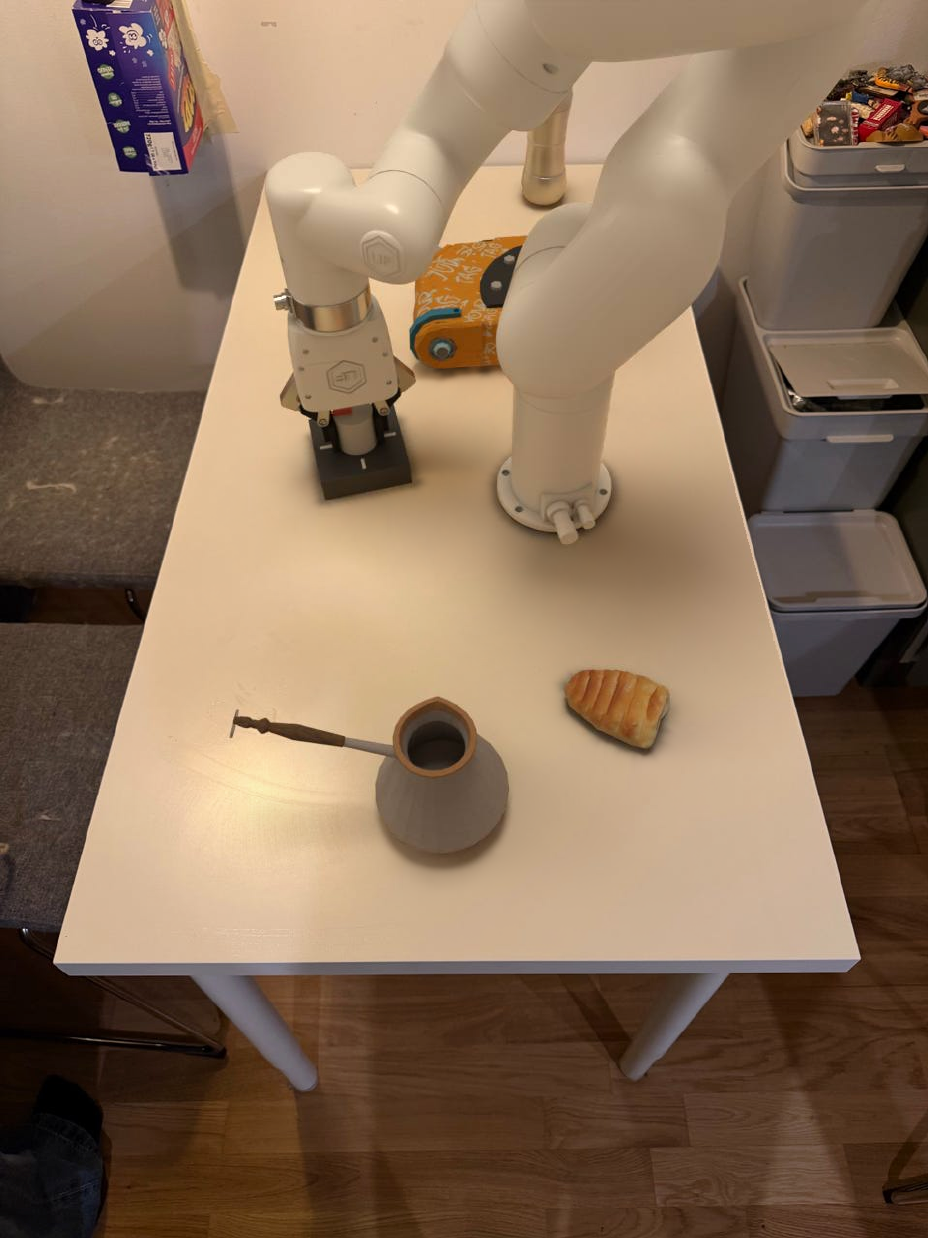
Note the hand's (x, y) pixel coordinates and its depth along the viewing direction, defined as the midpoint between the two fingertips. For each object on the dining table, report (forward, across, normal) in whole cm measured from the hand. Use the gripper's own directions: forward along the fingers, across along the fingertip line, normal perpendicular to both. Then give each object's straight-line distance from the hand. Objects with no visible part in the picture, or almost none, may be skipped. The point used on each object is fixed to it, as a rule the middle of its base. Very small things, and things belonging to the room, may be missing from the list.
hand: (357, 437), depth 94 cm
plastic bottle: (+4, +34, +45) cm, 57 cm away
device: (+4, +25, +20) cm, 32 cm away
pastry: (+4, +18, -38) cm, 42 cm away
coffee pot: (+4, -4, -41) cm, 41 cm away
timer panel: (+4, 0, 0) cm, 4 cm away
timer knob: (0, 0, 0) cm, 0 cm away
